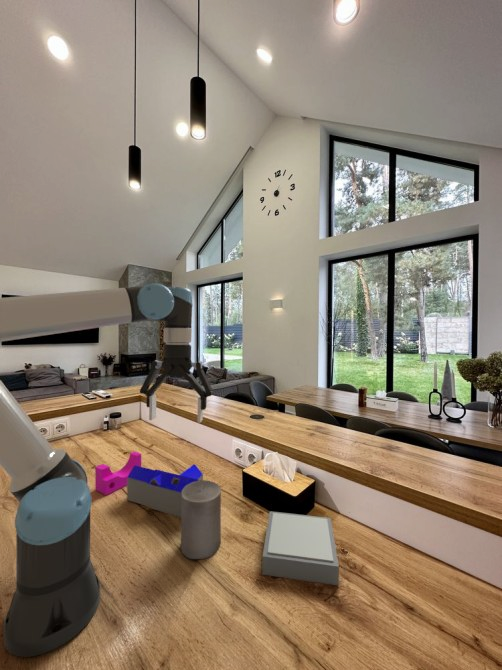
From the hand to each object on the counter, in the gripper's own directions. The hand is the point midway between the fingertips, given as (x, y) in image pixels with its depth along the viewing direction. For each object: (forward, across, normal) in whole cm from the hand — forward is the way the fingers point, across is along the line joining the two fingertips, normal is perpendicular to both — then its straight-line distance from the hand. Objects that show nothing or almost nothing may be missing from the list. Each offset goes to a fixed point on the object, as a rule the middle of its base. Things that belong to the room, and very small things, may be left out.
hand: (176, 420), depth 81 cm
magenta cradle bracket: (+28, +26, -18) cm, 42 cm away
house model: (+28, +4, -11) cm, 31 cm away
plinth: (+28, -34, +8) cm, 45 cm away
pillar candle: (+28, -10, +8) cm, 31 cm away
